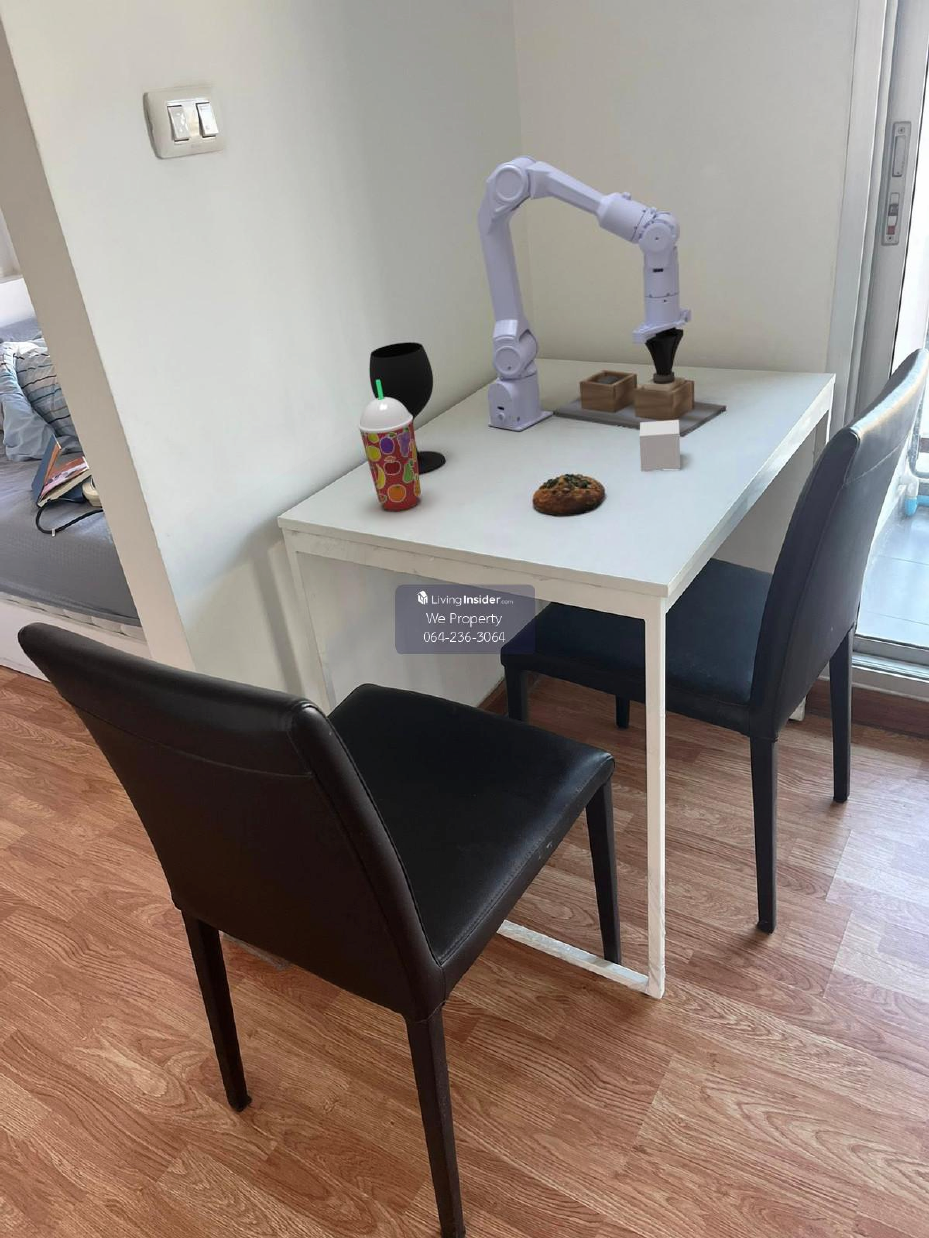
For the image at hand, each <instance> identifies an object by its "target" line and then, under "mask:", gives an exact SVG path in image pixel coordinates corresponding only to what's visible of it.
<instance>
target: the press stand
mask: <svg viewBox="0 0 929 1238" xmlns="http://www.w3.org/2000/svg"><path fill="white" fill-rule="evenodd" d="M606 376H616V377H618V382H616V383H614V384H612V385H611V384H603V383H598V379H600V378H602V377H606ZM579 393H580V397H578V398H576V399H573V400H572V401H569V402H568V403H566V404H564V405H562V406H560V407H558V408H556V409H554V410H552V412H551V414H552V416H553V415H556V416H555V417H559V416H560V418H566V419H573V420H579V421H583V422H590V421H591V422H592V423H596V424H602V425H603V424H604V425H609V426H614V425H617V426H616V427H620V426H622V427H621V428H626V427H628V429H632V428H636V429H635V430H638V429H640V423H641V422H655V421H669V420H679V435H680V436H683V435H684V436H686V435H688V434H689V433H690V432H689V431H691V432H693V431H694V430H695V428H696V429H697V428H699V427H700V426H699V425H701V426H703V425H704V424H706V423H707V422H709V421H711V420H712V419H713V418H715V417H717V416H719V415H720V414H722V413H723V411H724V412H725V411H727V405H725V404H718V403H717V404H715V403H710V402H709V403H708V402H703V401H701V402H700V401H695V381H694V380H692V379H691V380H690V379H689V380H688V379H684V384H683V385H681V386H679V387H677V388H676V389H674V390H672V391H670V392H664V391H657V390H649V389H644V383H643V384H642V385H640V386H638V375H637V373H633V372H632V373H631V372H621V371H615V370H606V369H603V370H601V371H599V372H597V373H595V374H593V375H591V376H589V377H587V378H585V379H582V380H581V381H579ZM721 412H722V413H721ZM718 414H719V415H718ZM716 415H717V416H716ZM711 418H712V419H711ZM708 420H709V421H708ZM706 421H707V422H706ZM705 422H706V423H705ZM693 429H694V430H693ZM692 430H693V431H692ZM688 432H689V433H688ZM687 433H688V434H687ZM685 434H686V435H685ZM680 436H679V437H680ZM684 436H683V437H684Z"/></svg>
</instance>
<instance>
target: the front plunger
mask: <svg viewBox="0 0 929 1238" xmlns="http://www.w3.org/2000/svg"><path fill="white" fill-rule="evenodd" d="M652 375H653V378H652V379H651V378H650V380H648V381H646V382H644V383H643V384H644V389H649V390H657V391H664V392H670V391H672V390H674V389H676V388H677V387H679V386H681V385H683V384H684V380H685V377H682V376H681V377H679V376H675V372H674V371H673V370H672V371H671V374H669V375H667V376H665V375H657V372H656V371H655V372H654V373H653V374H652Z"/></svg>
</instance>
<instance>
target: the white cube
mask: <svg viewBox="0 0 929 1238" xmlns="http://www.w3.org/2000/svg"><path fill="white" fill-rule="evenodd" d="M680 443H681V442H680V436H679V420H669V421H655V422H641V423H640V430H639V454H640V455H639V456H640V457H639V459H640V472H641V471H645V472H654V471H653V470H662V471H664V470H663V469H679V470H681V453H680V452H681V448H680V447H681V446H680V445H681V444H680Z"/></svg>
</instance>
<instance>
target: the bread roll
mask: <svg viewBox="0 0 929 1238" xmlns="http://www.w3.org/2000/svg"><path fill="white" fill-rule="evenodd" d="M605 494H606V489H605V487H604V485H603V484H602V483H601V482H600V481H598V480H597V479H595V478H594V477H591V476H587V475H586V476H585V475H583V474H580V473H577V474H574V473H566V474H565V473H564V474H561V475H559V476H556V477H555V478H549V479H547V481H544V482H543V484H541V485H540V486H539V488H537V490H535V492H534V494H533V495H532V501H531V502H532V506H533V507H534V508H535V509H536V510H537V511H538V512H541V513H545V514H547V515H551V516H557V517H560V516H561V517H569V516H576V515H582V514H583V515H584V514H587V513H589V512H591V511H593V510H594V508H598V506H599V505H600V504H601V503H602V502H603V498H604V497H605Z"/></svg>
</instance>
